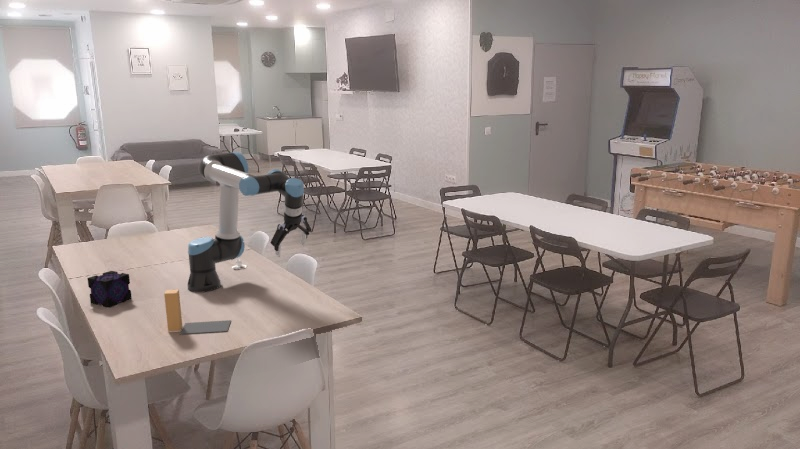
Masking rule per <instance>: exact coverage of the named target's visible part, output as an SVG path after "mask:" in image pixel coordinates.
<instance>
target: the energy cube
mask: <svg viewBox="0 0 800 449" xmlns="http://www.w3.org/2000/svg"><path fill="white" fill-rule="evenodd" d="M130 280H131V278H130V274H129V273H125V272H122V273H118V271H114V270H109V271H107V272H103V273H102V274H100V275H92V276H89V277H87V285H88V286H87V287H88V288H89V289H90V294H89V302H90V305H91V304H92V305H96V306H98V305H101V306H102V307H103V308H107V309H108V308H112V307H115V306H118V303H125V302H128V301H131V300H132V299H133V297H132V290H131V289H130V286H129V285H130V283H131V281H130Z"/></svg>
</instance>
